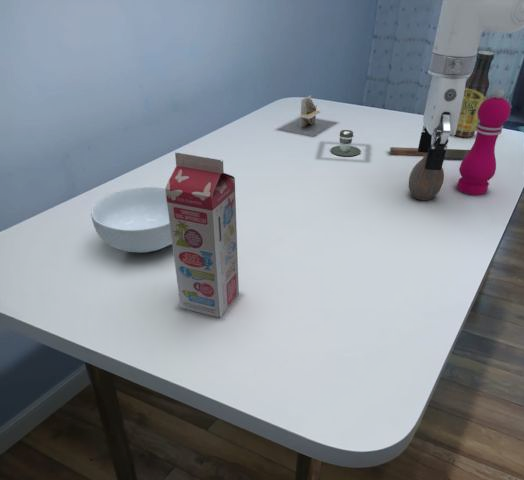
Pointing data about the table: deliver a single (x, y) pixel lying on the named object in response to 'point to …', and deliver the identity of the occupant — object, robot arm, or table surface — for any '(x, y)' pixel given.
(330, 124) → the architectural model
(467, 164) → the pepper mill
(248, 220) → the table surface
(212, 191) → the juice carton
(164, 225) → the cereal bowl
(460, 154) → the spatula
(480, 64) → the sauce bottle
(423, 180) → the vase
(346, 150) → the grey round knobbed disc
